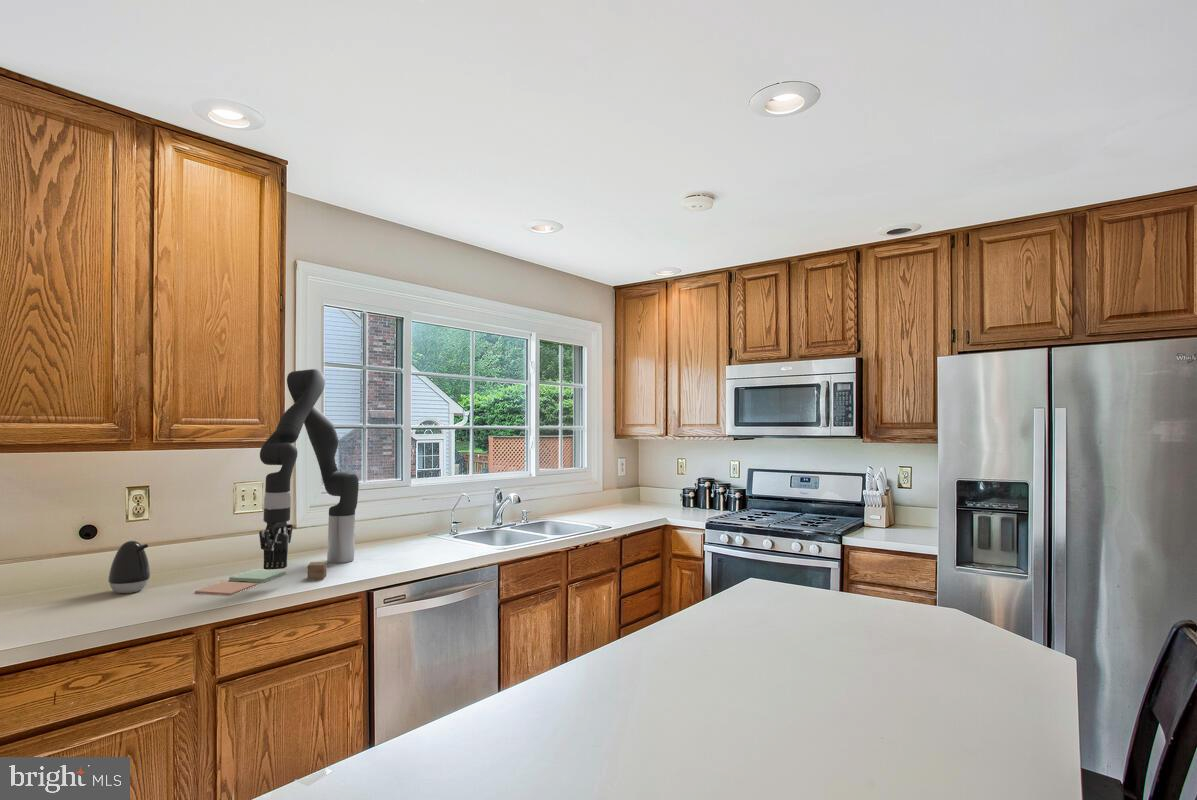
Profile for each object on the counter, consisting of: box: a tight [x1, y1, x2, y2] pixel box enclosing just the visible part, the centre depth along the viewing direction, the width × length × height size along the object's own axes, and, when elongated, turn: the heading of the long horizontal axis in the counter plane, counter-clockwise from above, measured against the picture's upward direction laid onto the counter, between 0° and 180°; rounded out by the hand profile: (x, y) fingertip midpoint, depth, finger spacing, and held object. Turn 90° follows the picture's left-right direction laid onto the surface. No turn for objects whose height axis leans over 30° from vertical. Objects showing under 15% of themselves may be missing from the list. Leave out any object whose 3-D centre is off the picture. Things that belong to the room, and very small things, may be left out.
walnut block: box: [306, 561, 328, 581], centre depth 214 cm, size 5×5×5 cm
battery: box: [262, 532, 289, 570], centre depth 201 cm, size 7×4×11 cm, turn 109°
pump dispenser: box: [107, 540, 151, 594], centre depth 194 cm, size 10×10×15 cm
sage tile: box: [228, 568, 287, 583], centre depth 213 cm, size 12×12×1 cm
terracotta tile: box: [194, 580, 258, 596], centre depth 198 cm, size 12×12×1 cm
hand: (275, 560), depth 201 cm, fingers closed on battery, 5 cm apart
